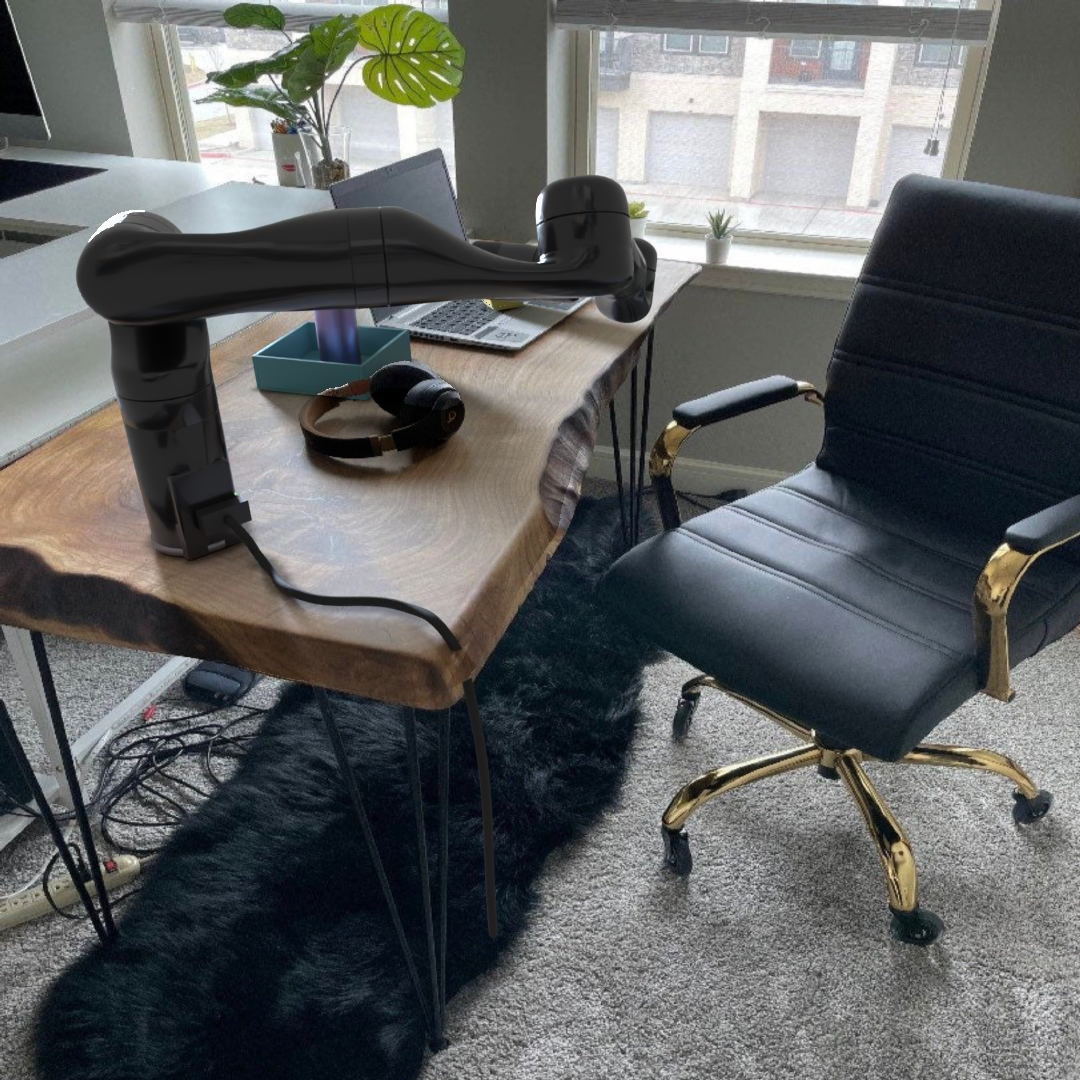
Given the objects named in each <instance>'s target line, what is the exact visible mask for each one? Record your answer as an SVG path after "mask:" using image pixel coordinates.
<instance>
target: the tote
mask: <svg viewBox="0 0 1080 1080" xmlns="http://www.w3.org/2000/svg"><path fill="white" fill-rule="evenodd" d="M357 327H358V335H359V344H360V353H361V362H362V364H361V365H356V364H345V363H334V362H324V361H320V355H319V348H318V340H317V333H316V326H315V321H312V320H311V321H310V320H306V321H305V322H302V323H301V324H300V325H298V326H297V327H295V328H294V329H292V330H291V331H289V332H288V333H286V334H284V335H283V336H281V337H279V338H278V339H277V340H275V341H273V342H272V343H270V344H269V345H267V346H266V347H264V348H262V349H261V350H259V351H258V352H256V353H255V354H253V355H251V359H252V366H253V372H254V377H255V383H256V389H257V390H263V391H269V392H270V391H273V392H281V393H291V394H298V395H299V394H300V395H310V396H318V395H317V394H318V393H321V392H323V391H325V390H326V389H329V388H335V387H341V386H343V385H345V384H347V383H349V382H352V381H355V380H360V379H365V378H369V377H370V376H372V375H373V374H374V373H375V372H376V371H378V370H379V369H381V368H382V367H383V366H385V365H388V364H390V363H394V362H399V361H404V360H405V361H411V362H412V359H413V358H412V349H411V337H410V329H409V328H408V329H406V328H397V327H395V328H394V327H383V326H373V325H372V326H371V325H361V324H360V325H358V324H357ZM371 397H372V396H371V395H370V393H369V392H367V393H366V394H361V395H357V396H352V397H348V398H346V399H348V400H356V401H357V400H358V401H367V400H368V399H370V398H371Z"/></svg>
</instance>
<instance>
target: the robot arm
mask: <svg viewBox="0 0 1080 1080" xmlns="http://www.w3.org/2000/svg"><path fill="white" fill-rule="evenodd" d="M631 222H632V221H631V213H630V205H629V201H628V197H627V195H626V191H625V190H624V188H623V187H622V185H621V184H620V183H619V182H618V181H616V180H615V179H613V178H611V177H608V176H605V175H600V174H580V175H572V176H566V177H563V178H560V179H557V180H554V181H552V182H550V183H549V184H547V185H546V186H545V187H544V188H543V189H541V191H540V193H539V195H538V196H537V200H536V206H535V227H536V237H537V238H536V239H537V245H533V244H529V243H520V242H505V241H491V240H490V241H489V240H475V241H473V242H469V241H467V240H465V239H463V238H461V237H460V236H458V235H456V234H454V233H453V232H451V231H450V230H448V229H446V228H444V227H443V226H441V225H439V224H438V223H436V222H435V221H432V220H430V219H429V218H427V217H425V216H423V215H421V214H419V213H417V212H415V211H412V210H409V209H407V208H404V207H401V206H394V205H386V206H385V205H384V206H383V205H382V206H365V207H364V206H363V207H346V208H344V207H343V208H334V209H326V210H321V211H319V210H318V211H315V212H310V213H305V214H302V215H298V216H294V217H290V218H286V219H282V220H278V221H274V222H272V223H269V224H264V225H262V226H257V227H253V228H249V229H244V230H239V231H229V232H215V233H212V232H211V233H209V232H208V233H201V232H198V233H197V232H196V233H193V232H192V233H189V232H188V233H187V232H182V230H180V228H179V227H178V226H177V225H176V224H174V223H173V222H172V221H170V220H169V219H168V218H166V217H164V216H163V215H160V214H158V213H154V212H152V211H147V210H129V211H125V212H121V213H119V214H118V213H117V214H116V215H114V216H112V217H111V218H109V219H108V220H107V221H105V222H104V223H103V224H102V225H101V226H100V227H99V228H98V229H97V231H96V232H95V233H94V234H93V235H92V236H91V238H90V239H88V241H87V242H86V244H85V245H84V247H83V249H82V251H81V253H80V255H79V258H78V260H77V263H76V264H77V265H76V270H75V282H76V287H77V289H78V292H79V294H80V297H81V299H82V300H83V301H84V303H85V304H86V305H87V306H88V308H90V310H92V312H94V313H95V314H96V315H97V316H99V317H101V318H102V319H104V320H106V321H107V324H108V325H107V326H108V330H109V339H110V341H109V342H110V359H109V360H110V361H109V362H110V363H109V367H110V368H109V369H110V374H111V379H112V382H113V387H114V391H115V395H116V398H117V402H118V406H119V410H120V414H121V418H122V424H123V427H124V431H125V435H126V439H127V442H128V447H129V451H130V455H131V459H132V462H133V466H134V471H135V475H136V478H137V483H138V487H139V492H140V495H141V498H142V502H143V507H144V511H145V514H146V518H147V522H148V526H149V530H150V539H151V543H152V545H153V547H154V548H155V549H156V550H157V551H158V552H160V553H162V554H165V555H168V556H174V557H184V558H186V559H187V560H188V561H192V560H195V559H197V558H200V557H203V556H206V555H208V554H211V553H213V552H216V551H219V550H222V549H224V548H227V547H231V546H232V545H235V544H237V543H240V542H243V544H244V545H245V547H246V548H247V549H248V551H249V553H250V554H251V556H252V557H253V558H254V559H255V561H256V562H257V563H258V564H259V567H261V569H262V570H263V571H265V572H266V574H268V576H269V577H270V579H271V581H272V583H273V584H274V585H275V587H276V588H277V589H278V590H279V591H280V592H282V594H283V593H284V594H285V595H287V596H289V597H292V598H294V599H297V600H299V601H302V602H305V603H309V604H313V605H319V606H325V607H326V606H327V607H376V608H386V609H391V610H395V611H399V612H401V613H402V612H403V613H405V614H409V615H412V616H415V617H418V618H420V619H422V620H424V621H425V622H427V623H428V624H429V625H430V626H432V627H433V629H434V630H435V631H436V632H437V633H438V634H439V635H440V636H441V638H442V639H443V641H444V642H445V644H446V645H447V646H448V648H449V649H450V650H451V651H454V652H459V651H461V650H462V645H461V644H460V642H459V640H458V639H457V637H456V636H455V634H454V633H453V631H451V629H450V628H449V627H448V625H447V624H446V623H445V621H443V620H442V619H441V618H440V617H439V616H438V615H437V614H436V613H434V612H433V611H431V610H429V609H427V608H424V607H422V606H419V605H415V604H413V603H411V602H406V601H403V600H399V599H396V598H392V597H383V596H373V595H372V596H371V595H344V596H343V595H326V594H325V595H324V594H317V593H311V592H308V591H305V590H302V589H300V588H298V587H295V586H294V585H291V584H289V583H287V582H286V581H285V580H284V579H283V578H282V577H281V576H280V574H279V573H278V572H277V570H276V569H275V567H274V566H273V565H272V563H271V562H270V561H269V560H268V558H267V557H266V556H265V554H264V552H262V550H261V549H260V548H259V546H258V544H257V543H256V541H255V540H254V538H253V537H252V536H251V534H250V533H249V532H248V531H247V529H246V528H244V527H245V526H244V524H246V523H249V522H251V521H253V518H252V512H251V509H250V508H251V507H250V501H249V500H248V499H247V498H245V497H244V496H243V495H241V494H240V493H238V494H237V492H236V491H237V490H236V487H235V482H234V481H235V480H234V475H233V471H232V467H231V462H230V456H229V451H228V446H227V441H226V437H225V431H224V426H223V421H222V415H221V410H220V406H219V400H218V395H217V390H216V385H215V380H214V375H213V374H214V373H213V369H212V363H211V344H210V332H209V328H208V322H207V319H211V318H216V317H223V316H230V315H236V314H237V315H238V314H248V313H289V312H291V313H292V312H294V313H295V312H312V311H313V312H314V311H316V310H335V309H356V310H365V309H366V310H367V309H378V308H379V309H380V308H393V307H394V308H395V307H404V306H413V305H422V304H423V305H424V304H433V303H434V304H435V303H443V302H444V303H445V302H455V301H467V300H469V301H470V300H482V299H487V300H500V301H513V302H524V303H527V302H529V303H530V302H541V303H553V304H568V305H569V304H574V303H577V302H578V301H579V300H580V299H585V298H586V299H587V298H594V302H595V306H596V308H597V310H598V311H599V313H601V314H602V315H603V316H604V317H605V318H607V319H609V320H611V321H613V322H616V323H621V324H633V323H637V322H639V321H642V320H643V319H645V318H646V317H647V316H648V315H649V313H650V312H651V309H652V305H653V300H654V290H655V283H656V272H657V267H658V266H657V265H658V251H657V249H656V248H655V246H654V245H653V244H652V243H650V242H649V241H648V240H646V239H643V238H640V237H633V234H632V224H631ZM461 685H462V689H463V694H464V697H465V702H466V707H467V712H468V715H469V719H470V726H471V731H472V735H473V742H474V747H475V757H476V763H477V771H478V778H479V787H480V800H481V801H480V802H481V815H482V831H483V857H484V858H483V859H484V878H485V880H484V881H485V897H486V898H485V899H486V900H485V901H486V913H487V924H488V926H487V927H488V936H489V937H490V938H492V939H494V938H497V937H498V936H499V928H498V915H497V914H498V913H497V900H496V881H495V879H496V878H495V853H494V852H495V851H494V850H495V849H494V848H495V847H494V824H493V821H494V820H493V805H492V804H493V803H492V802H493V801H492V791H491V790H492V789H491V780H490V771H489V762H488V761H489V760H488V755H487V747H486V746H487V745H486V741H485V734H484V729H483V724H482V723H483V722H482V719H481V718H482V717H481V713H480V709H479V708H480V707H479V704H478V699H477V696H476V695H477V694H476V691H475V690H476V689H475V685H474V681H473V677H470V678H467V679H465V680H464V681H462V682H461Z"/></svg>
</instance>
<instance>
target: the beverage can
mask: <svg viewBox="0 0 1080 1080" xmlns="http://www.w3.org/2000/svg"><path fill="white" fill-rule="evenodd" d="M313 316H314V322H315V326H316V333H317V340H318V348H319V355H320V361H324V362H334V363H345V364H356V365H361V364H362V362H361V353H360V344H359V335H358V327H357V325H358V319H357V309H335V310H316V311H313Z"/></svg>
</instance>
